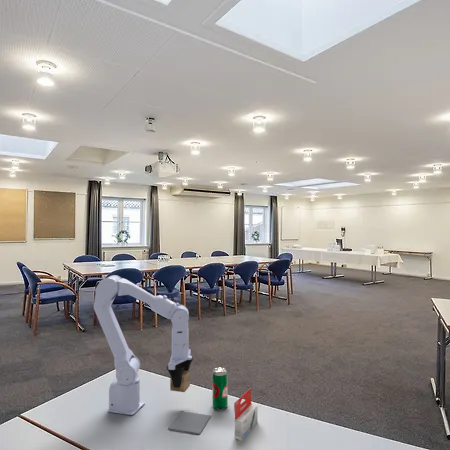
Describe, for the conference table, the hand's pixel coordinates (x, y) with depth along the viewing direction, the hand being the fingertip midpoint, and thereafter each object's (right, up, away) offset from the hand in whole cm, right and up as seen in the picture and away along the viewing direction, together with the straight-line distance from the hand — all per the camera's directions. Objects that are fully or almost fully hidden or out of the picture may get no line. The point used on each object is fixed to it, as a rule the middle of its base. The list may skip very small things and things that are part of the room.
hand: (180, 383), depth 113 cm
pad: (+4, -7, -11) cm, 14 cm away
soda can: (+13, -7, -1) cm, 15 cm away
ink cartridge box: (+21, -7, -15) cm, 27 cm away
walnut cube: (0, -2, 0) cm, 2 cm away
